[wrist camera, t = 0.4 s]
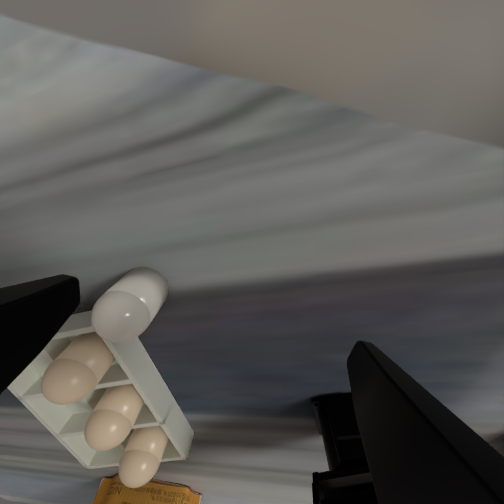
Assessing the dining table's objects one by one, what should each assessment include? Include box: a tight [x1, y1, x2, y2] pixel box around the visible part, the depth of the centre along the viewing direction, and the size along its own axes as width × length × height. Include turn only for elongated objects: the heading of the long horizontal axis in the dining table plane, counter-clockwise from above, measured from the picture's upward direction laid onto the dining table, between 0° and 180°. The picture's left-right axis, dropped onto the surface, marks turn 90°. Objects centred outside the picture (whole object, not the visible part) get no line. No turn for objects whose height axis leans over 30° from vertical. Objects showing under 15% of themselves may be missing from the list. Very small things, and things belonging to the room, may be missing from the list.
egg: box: [91, 267, 169, 342], centre depth 20 cm, size 4×4×6 cm
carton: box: [7, 310, 194, 488], centre depth 26 cm, size 22×15×7 cm
